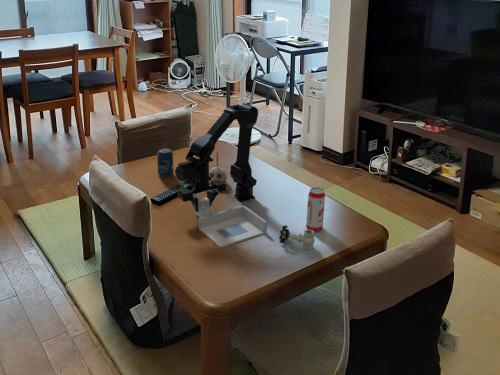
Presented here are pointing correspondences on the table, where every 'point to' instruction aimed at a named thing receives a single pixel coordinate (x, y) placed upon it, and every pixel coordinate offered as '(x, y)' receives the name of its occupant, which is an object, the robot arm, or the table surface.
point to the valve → (299, 237)
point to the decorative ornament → (218, 173)
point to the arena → (232, 225)
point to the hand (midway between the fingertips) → (202, 209)
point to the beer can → (315, 209)
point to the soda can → (165, 162)
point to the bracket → (203, 207)
